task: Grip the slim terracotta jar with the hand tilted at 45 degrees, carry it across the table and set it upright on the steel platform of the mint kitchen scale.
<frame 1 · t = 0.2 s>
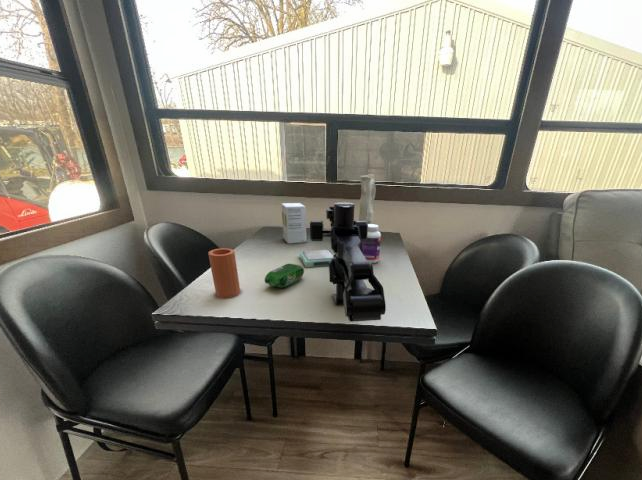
hand: (335, 225, 104), 17 cm above the table, tool horizontal, fingers open, 9 cm apart
scale: (317, 260, 119), on the table
jar: (228, 292, 90), on the table
supplement box: (295, 240, 143), on the table
snack package: (285, 283, 98), on the table
pill bottle: (369, 261, 121), on the table
vase: (365, 235, 157), on the table
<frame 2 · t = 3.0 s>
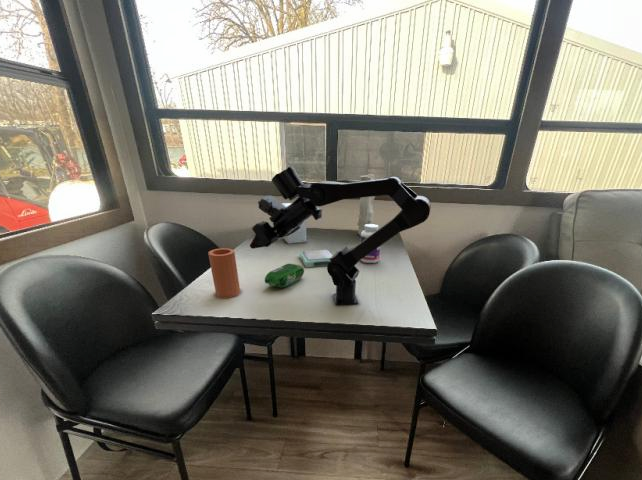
hand: (259, 242, 88), 14 cm above the table, tool tilted 50°, fingers open, 9 cm apart
nothing on the table moved.
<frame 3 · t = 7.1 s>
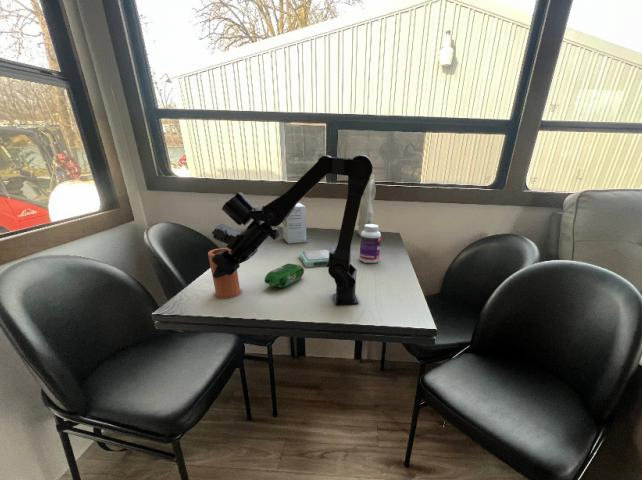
hand: (220, 272, 87), 7 cm above the table, tool tilted 45°, fingers closed on jar, 7 cm apart
jar: (228, 292, 90), on the table, touching gripper
everything else where it was.
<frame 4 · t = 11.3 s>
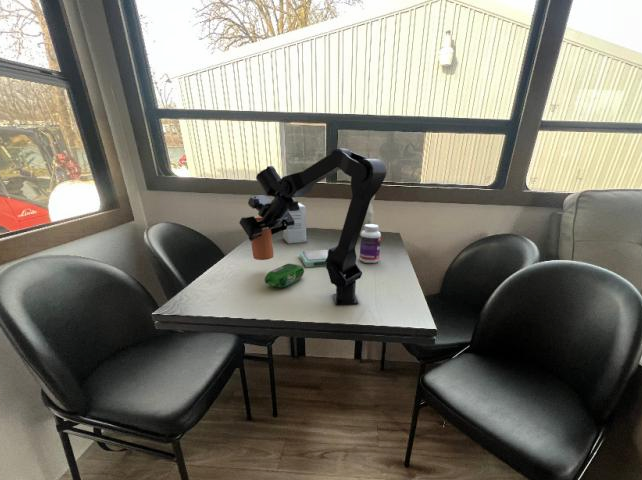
hand: (258, 237, 101), 12 cm above the table, tool tilted 45°, fingers closed on jar, 7 cm apart
jar: (263, 256, 103), point 6 cm above the table, touching gripper
everything else where it was.
when the fingers open (9 cm above the table, at t = 15.9 s): jar stays where it is, resting on scale.
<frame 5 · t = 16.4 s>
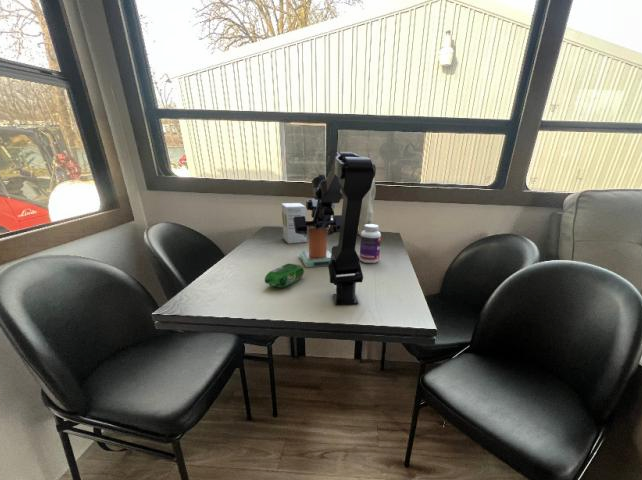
hand: (316, 235, 115), 10 cm above the table, tool tilted 45°, fingers open, 9 cm apart
jar: (317, 254, 117), point 3 cm above the table, touching scale
everything else where it was.
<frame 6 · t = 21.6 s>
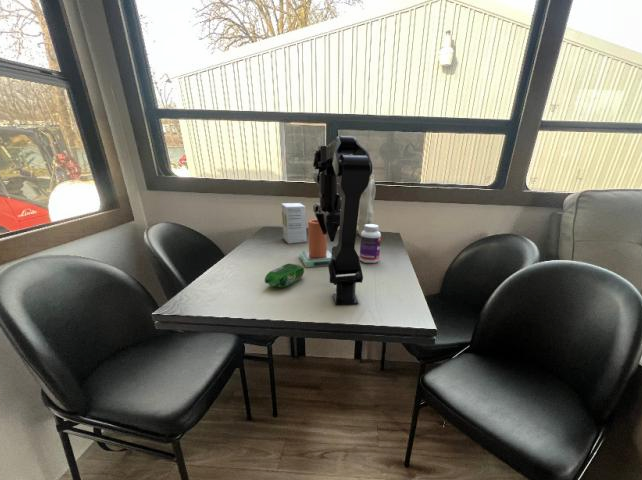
hand: (328, 237, 102), 13 cm above the table, tool pointing down, fingers open, 9 cm apart
nothing on the table moved.
at the end: jar inside the target area on the scale (0.1 cm from its centre), point 2.8 cm above the scale's base; jar tilted 0°; the gripper is holding nothing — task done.
